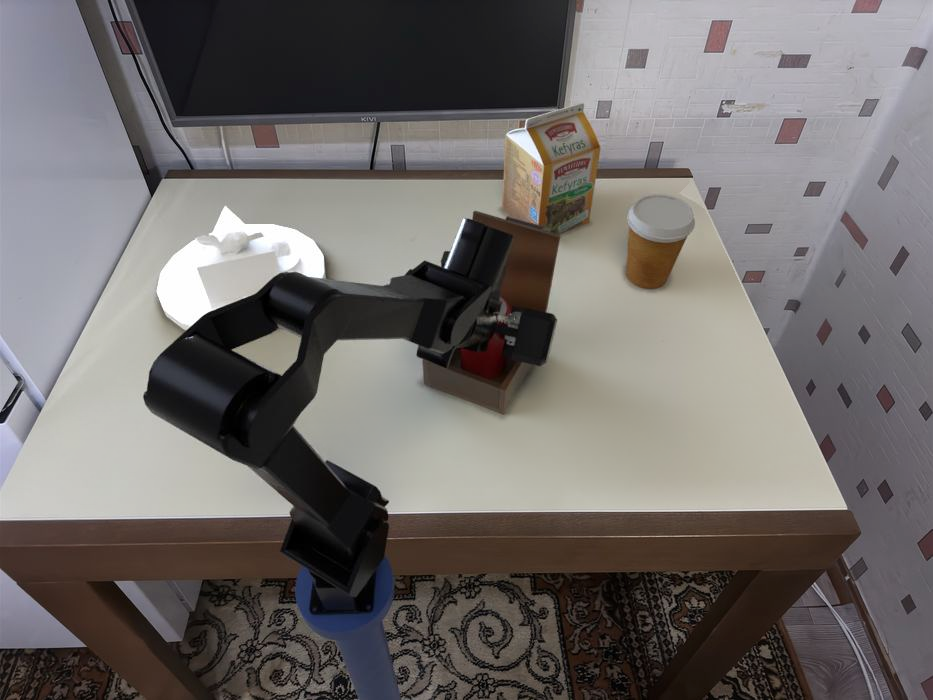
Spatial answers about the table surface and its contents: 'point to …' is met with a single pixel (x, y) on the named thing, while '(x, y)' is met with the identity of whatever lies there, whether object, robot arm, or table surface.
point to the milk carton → (551, 170)
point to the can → (488, 353)
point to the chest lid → (526, 261)
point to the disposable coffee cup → (656, 238)
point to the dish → (232, 266)
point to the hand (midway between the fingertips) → (487, 325)
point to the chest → (477, 382)
